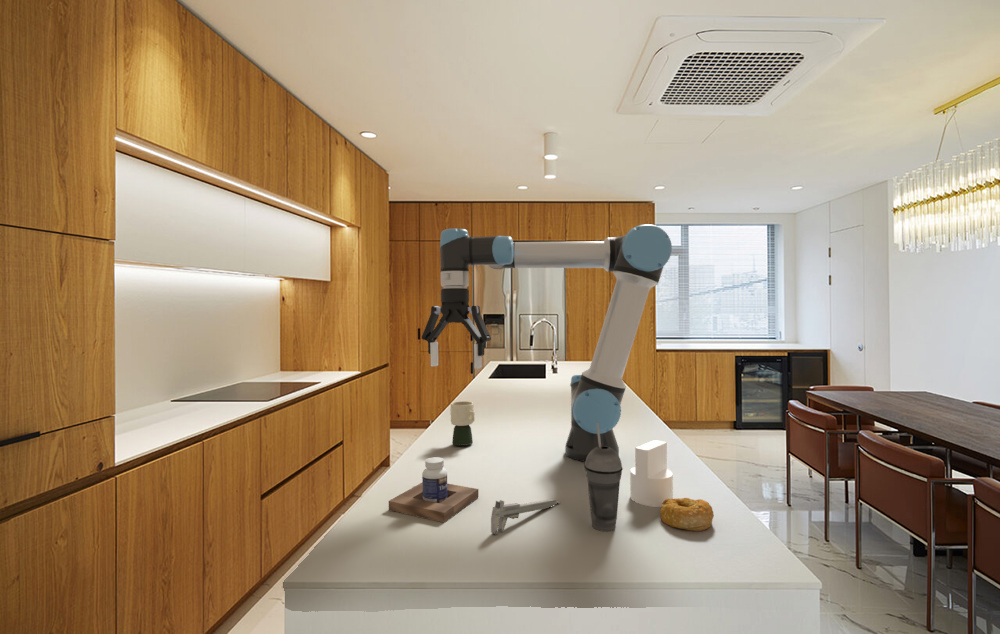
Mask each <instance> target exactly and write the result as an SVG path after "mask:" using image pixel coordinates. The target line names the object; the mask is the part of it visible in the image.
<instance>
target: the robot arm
mask: <svg viewBox="0 0 1000 634" xmlns="http://www.w3.org/2000/svg"><path fill="white" fill-rule="evenodd" d="M439 241H440V245H439V255H440V256H439V257H440V258H439V260H440V286H441V288H442V289H441V290H440V302H441V306H439V305H432V306H431V309H430V315H429V318H428V320H427V322H426V325H425V327H424V330H423V331H422V332H423V333H422V335H421V339H422V340H423V341H426V342H427V348H428V349H427V352H428V354H429V355H430V367H438V366H439V342H438V340H437V339H438V337H439V336H440V335H441V334H442V332H443V331H444V330H445V328H446V326H447V325H448V324H451V323H452V324H453V323H455V324H460V323H461V324H462V325H463V326H464V327H465V328H466V330H467V331H468V332H469V334H470V335H471V337H472V338H473V339H474V341H475V342H476V343H474V344H473V352H474V353H473V354H474V355H473V358H474V359H473V360H474V361H473V366H474V367H473V369H474V370H479V369H482V368H483V365H482V364H483V359H482V358H483V356H484V355H485V344H486V343H487V342H490V341H491V340H492V337H491V334H490V332H489V330H488V328H487V325H486V324H485V323H486V322H485V321H484V319H483V316H482V315H481V307H480V306H479V305H472V306H470V305H469V303H470V289H469V288H468V287H469V286H470V274H469V272H470V271H469V270H470V268H469V267H470V266H488V267H490V268H491V269H494V270H503V269H604V270H605V271H606V272H612V273H613V275H614V277H615V279H616V282H615V284H614V288H613V292H612V294H611V297H610V301H609V303H608V308H607V310H606V314H605V317H604V320H603V323H602V328H601V330H600V334H599V337H598V340H597V344H596V347H595V349H594V353H593V355H592V360H591V363H590V365H589V368H588V369H587V370H584V371H583V372H581V374H573V375H572V376H571V379H570V385H569V386H570V408H571V409H570V411H571V412H570V413H571V414H570V416H571V417H570V420H571V421H570V423H571V424H570V425H571V426H570V431H569V433H568V436H567V439H566V442H565V447H564V451H565V452H564V453H565V455H566V456H567V457H568V458H570V459H573V460H576V461H579V462H580V461H581V462H586V458H587V456H588V454H589V453H590V451H591V450H592V449H594V448H595V447H598V446H599V444H598V435H597V426H596V423H599V431H600V439H601V446H607V447H610V448H612V449H613V450H614V451H616V453H617V454H618V456H619V457H620V453H619V452H620V449H619V448H620V447H619V445H618V441H617V439H616V438H617V437H616V435H615V432H614V430H613V429H614V428H615V427H616V426H617V424H618V423H619V421H620V419H621V414H622V413H621V412H622V407H621V404H622V401H623V399H624V394H625V391H626V387H627V386H626V384H625V382H624V380H623V377H624V373H625V371H626V367H627V365H628V360H629V357H630V354H631V351H632V347H633V346H634V342H635V339H636V336H637V333H638V328H639V325H640V323H641V319H642V315H643V313H644V309H645V306H646V303H647V300H648V297H649V293H650V291H651V289H652V288H654V287H655V286H658V285H659V283H660V278H661V275H662V272H663V269H664V266H665V265H666V264H667V263H668V262H669V260H670V258H671V255H672V250H673V246H672V241H671V238H670V236H669V234H668V233H667V232H666V231H665V230H664V229H663V228H661V227H660V226H657V225H655V224H649V223H648V224H640V225H637V226H634V227H632V228H631V229H629V230H628V231H627V233H626V234H625V235H621V236H614V237H612V236H611V237H606V238H605V239H604V240H601V241H600V240H594V241H593V240H592V241H591V240H590V241H588V240H587V241H586V240H585V241H584V240H583V241H580V240H578V241H514V240H513V238H512V237H511V236H510V235H509V236H507V235H496V236H495V235H492V236H490V235H489V236H488V235H487V236H470V235H469V231H468V230H467V229H465V228H447V229H444V230H442V231H441V233H440V240H439ZM440 314H442V316H441V317H440ZM469 314H470V315H472V318H471V317H470V316H469ZM439 317H440V319H439ZM472 319H473V321H474V323H475V324H474V323H473V321H472ZM438 320H439V322H438ZM437 322H438V323H437ZM436 324H437V325H436Z"/></svg>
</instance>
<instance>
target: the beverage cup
mask: <svg viewBox="0 0 1000 634" xmlns="http://www.w3.org/2000/svg"><path fill="white" fill-rule="evenodd" d="M596 426H597V435H598V444H599V446H598V447H595V448H594V449H592V450H591V451H590V453H589V454H588V456H587V458H586V461H584V463H585V464H584V469H585V475H586V479H587V490H588V499H589V511H590V519H591V526H592V528H593V529H594V530H597V531H600V532H610V531H614V530H615V529H616V527H617V526H616V524H617V519H618V507H619V506H618V505H619V495H620V485H621V484H620V482H621V478H622V473H623V469H624V468H623V464H622V460H621V458H620V455H619V456H618V454H617V453H616V451H614V450H613V449H612V448H610V447H607V446H601V439H600V431H599V423H596Z"/></svg>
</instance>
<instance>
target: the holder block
mask: <svg viewBox="0 0 1000 634" xmlns="http://www.w3.org/2000/svg"><path fill="white" fill-rule="evenodd" d="M478 497H479V488H474V487H468V486H464V485H458V484H453V483H447V499H445V500H444V501H442V502H441V503H435V502H430V501H425V500H423V484H422V482H420V483H418V484H417V485H415V486H413V487H411V488H410V489H408V490H405V491H404V492H402V493H401V494H399V495H396V496H395V497H393V498H392V499H389V500H388V511H390V510H392V511H391V512H394V511H396V512H395V513H399V512H401V513H400V514H403V513H406V514H405V515H408V514H410V515H409V516H412V515H414V516H413V517H417V516H418V517H417V518H421V517H423V518H422V519H426V520H430V519H431V520H430V521H435V520H436V521H435V522H439V521H441V522H440V523H444V522H445V523H446V522H447V521H449V520H450V519H452V518H453V517H454V516H455V514H456V513H457V514H458V513H460V512H462V509H463V508H464V509H465V508H467V507H468V506H469V505H471V504H472V503H474V502H475V501H476V500H478V499H479V498H478ZM477 498H478V499H477ZM474 500H475V501H474ZM473 501H474V502H473ZM471 502H472V503H471ZM470 503H471V504H470ZM468 504H469V505H468ZM467 505H468V506H467ZM466 506H467V507H466ZM464 509H463V510H464ZM459 511H460V512H459ZM457 514H456V515H457ZM452 516H453V517H452ZM451 517H452V518H451ZM448 519H449V520H448Z"/></svg>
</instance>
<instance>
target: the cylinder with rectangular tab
mask: <svg viewBox="0 0 1000 634" xmlns="http://www.w3.org/2000/svg"><path fill="white" fill-rule="evenodd" d="M667 443H668V442H666V441H664V440H657V439H653V440H651V441H648V442H646V443H643V444H642V445H641V444H640V445H639V446H636V447H635V448H634V449H635V460H634V463H635V465H634V466H633V467H631V468H630V473H629V474H630V478H629V479H630V483H629V484H630V488H629V489H630V490H629V491H630V494H629V495H630V499H631V500H632V501H633V502H634V501H635V503H636V504H638V503H639V504H638V505H642V506H646V507H653V508H655V507H657V508H661V507H662V506H663V504H662V503H663V501H664V500H666V499H674V491H673V490H674V473H673V472H672V471H671V469H668V466H667V465H668V463H667V462H668V458H667V457H668V451H667V450H668V447H667V446H668V444H667Z"/></svg>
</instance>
